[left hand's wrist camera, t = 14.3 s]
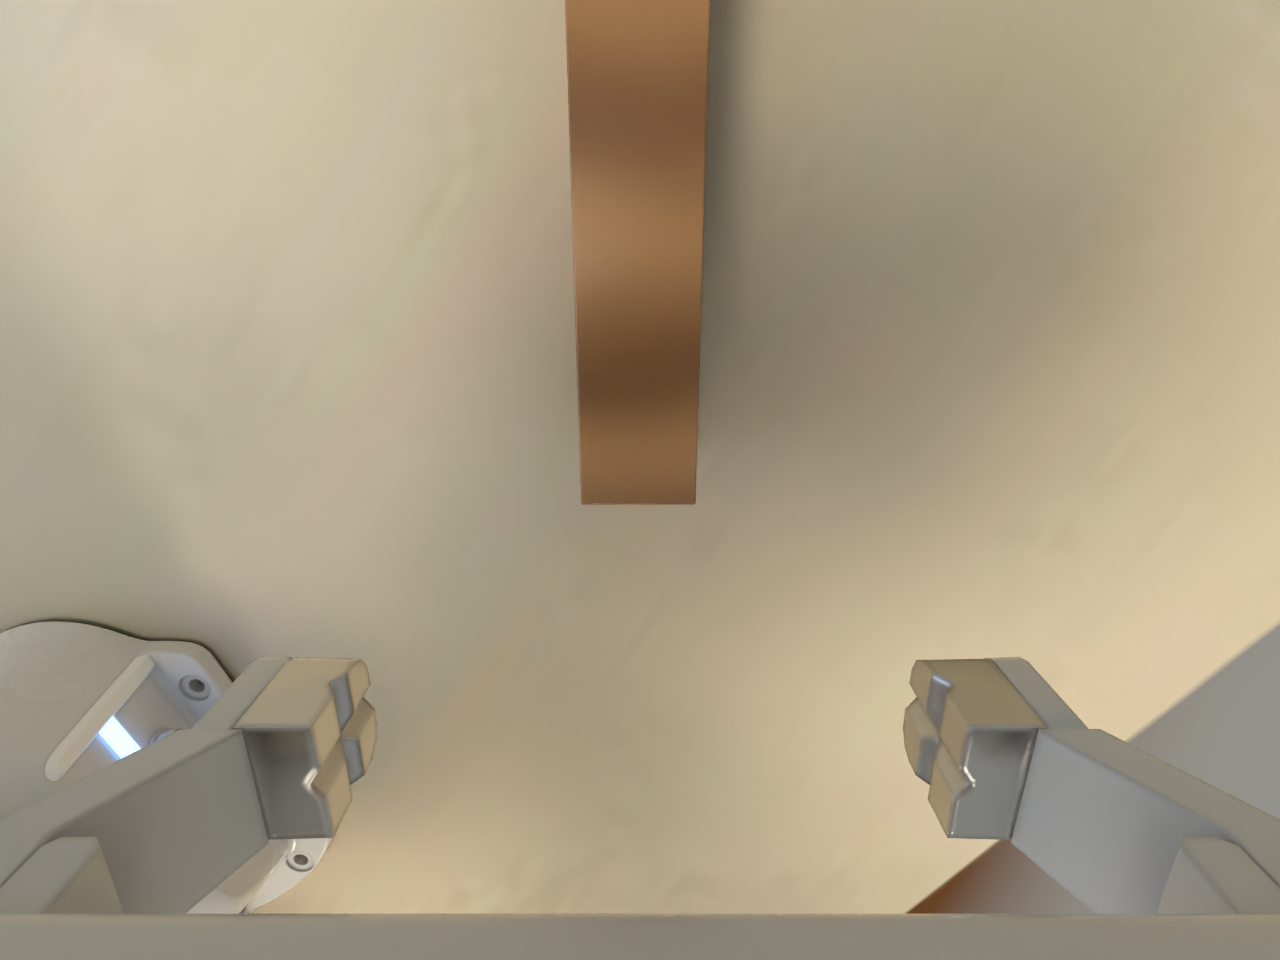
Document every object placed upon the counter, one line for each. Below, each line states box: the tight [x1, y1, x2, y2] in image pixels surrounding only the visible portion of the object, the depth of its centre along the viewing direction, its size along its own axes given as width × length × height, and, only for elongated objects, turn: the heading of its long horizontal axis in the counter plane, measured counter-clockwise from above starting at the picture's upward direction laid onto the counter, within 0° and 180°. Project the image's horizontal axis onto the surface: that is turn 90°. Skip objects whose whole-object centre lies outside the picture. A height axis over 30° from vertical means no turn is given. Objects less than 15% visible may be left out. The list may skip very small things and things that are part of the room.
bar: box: [565, 0, 710, 505], centre depth 26 cm, size 27×4×8 cm, turn 0°
